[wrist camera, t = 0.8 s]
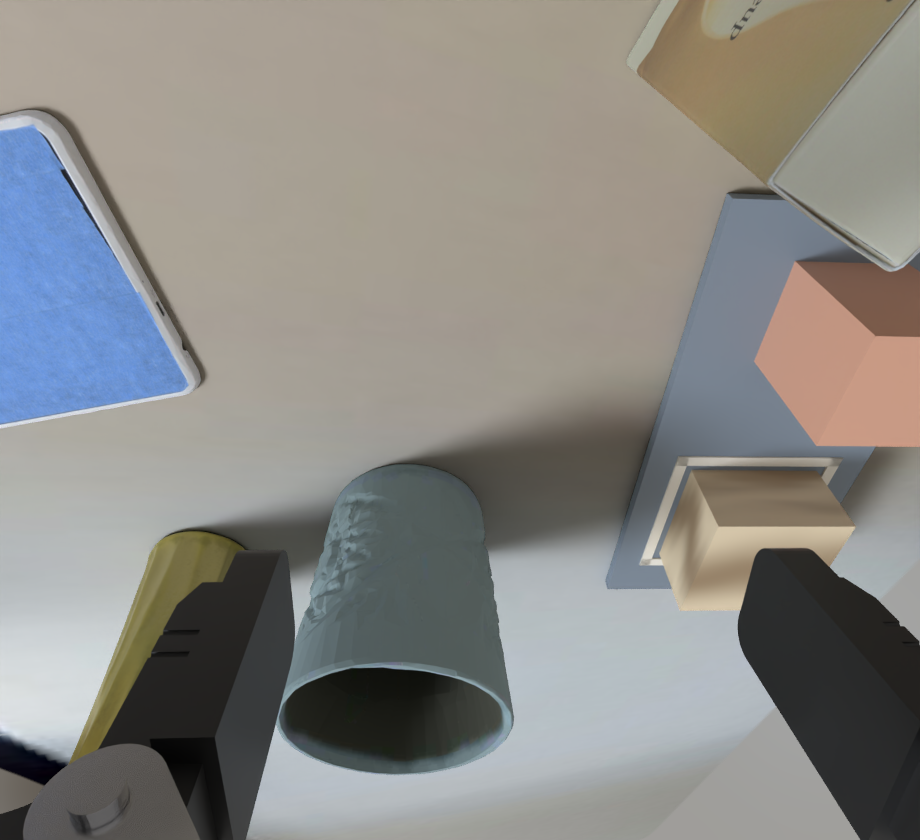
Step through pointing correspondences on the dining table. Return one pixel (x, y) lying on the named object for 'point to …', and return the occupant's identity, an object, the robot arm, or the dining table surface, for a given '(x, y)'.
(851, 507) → the dining table surface
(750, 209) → the board
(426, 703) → the grey-green pot
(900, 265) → the skincare box
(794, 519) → the oak base block
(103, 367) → the tablet computer
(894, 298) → the terracotta block
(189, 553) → the vase
